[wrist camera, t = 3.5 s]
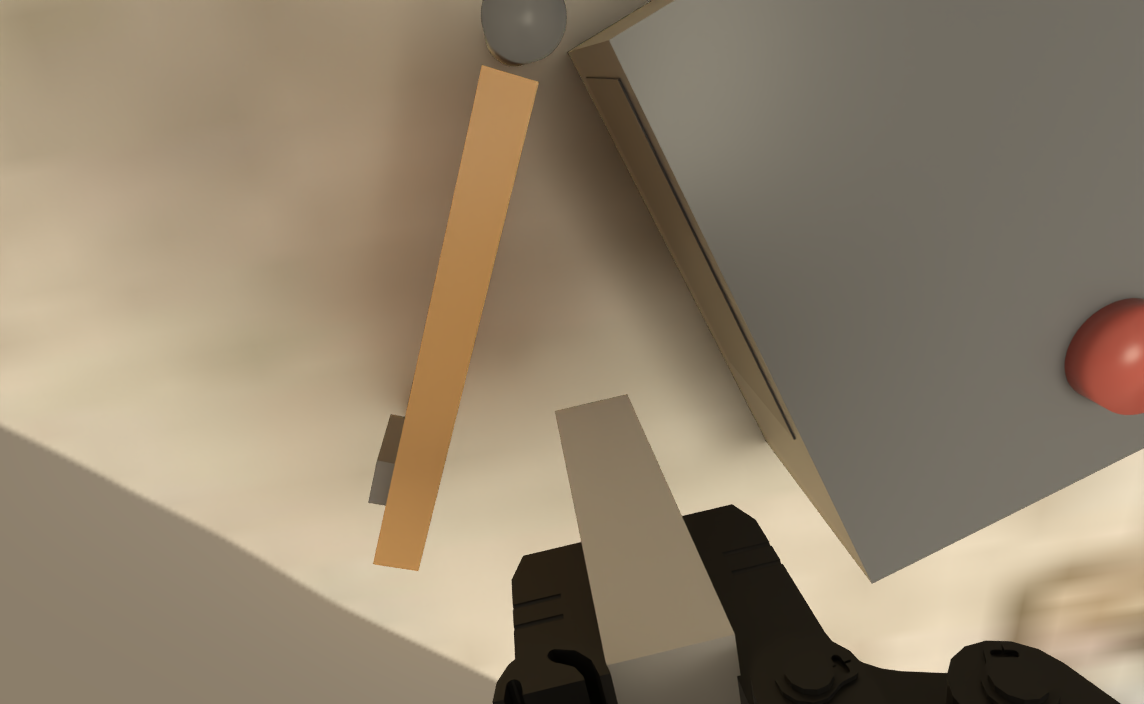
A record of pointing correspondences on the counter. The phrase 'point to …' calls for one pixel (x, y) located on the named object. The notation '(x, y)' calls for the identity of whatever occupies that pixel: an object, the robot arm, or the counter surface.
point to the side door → (461, 276)
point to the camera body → (902, 238)
